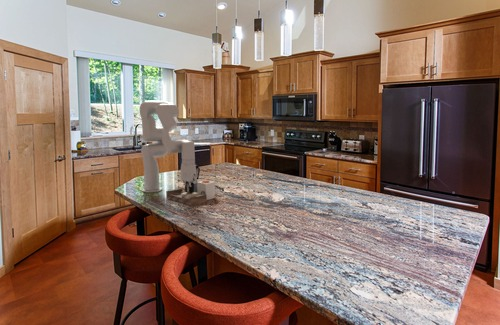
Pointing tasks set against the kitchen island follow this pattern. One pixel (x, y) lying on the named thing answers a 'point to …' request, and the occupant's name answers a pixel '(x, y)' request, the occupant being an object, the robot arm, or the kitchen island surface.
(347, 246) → the kitchen island surface
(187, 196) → the square knob plate
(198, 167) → the moka pot
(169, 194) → the rail bed
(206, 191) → the white knob block
